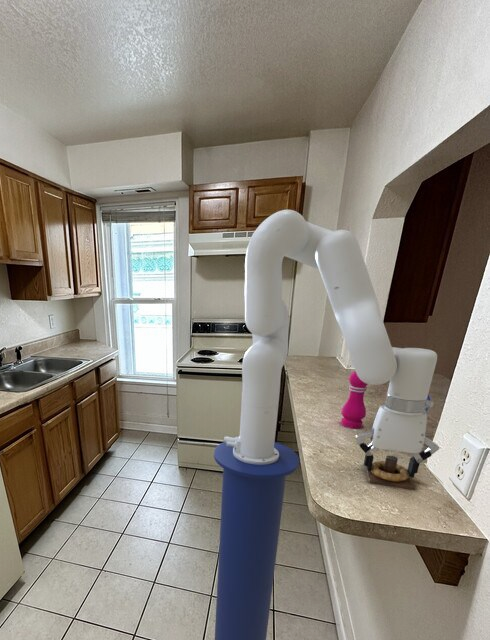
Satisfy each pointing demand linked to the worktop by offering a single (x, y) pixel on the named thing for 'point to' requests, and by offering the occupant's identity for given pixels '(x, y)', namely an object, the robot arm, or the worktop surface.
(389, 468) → the peg stand
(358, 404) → the pepper mill
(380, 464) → the ring
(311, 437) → the worktop surface
